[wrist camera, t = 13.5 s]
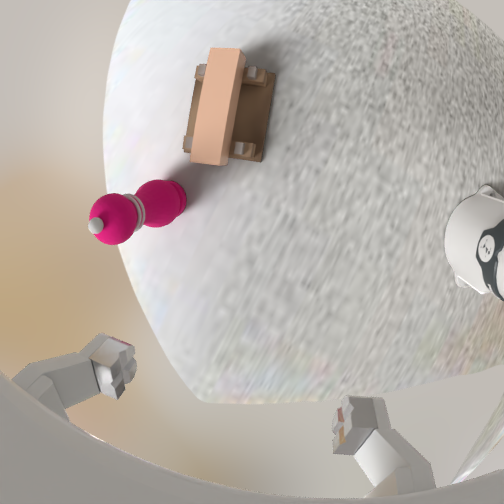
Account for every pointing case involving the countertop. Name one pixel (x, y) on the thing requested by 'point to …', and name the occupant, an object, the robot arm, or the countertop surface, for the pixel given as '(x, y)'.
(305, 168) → the countertop surface
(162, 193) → the pepper mill
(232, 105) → the peach rectangular block
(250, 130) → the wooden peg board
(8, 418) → the robot arm
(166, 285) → the countertop surface
